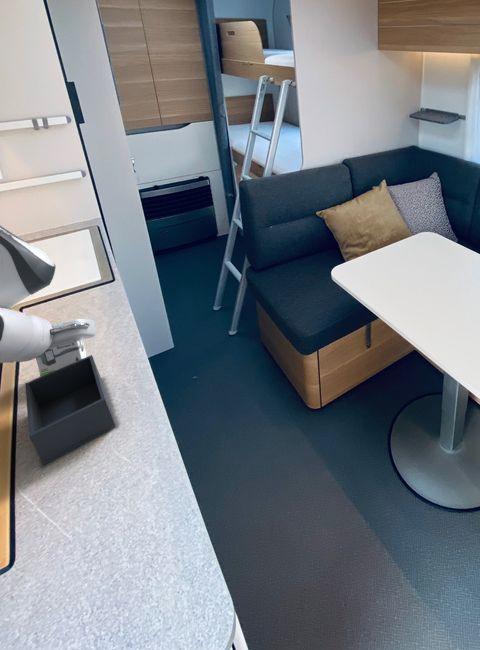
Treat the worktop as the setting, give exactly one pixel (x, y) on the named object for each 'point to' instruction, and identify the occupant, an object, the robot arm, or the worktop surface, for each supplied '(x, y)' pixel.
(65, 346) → the ink box
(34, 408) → the bin
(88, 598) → the worktop surface
